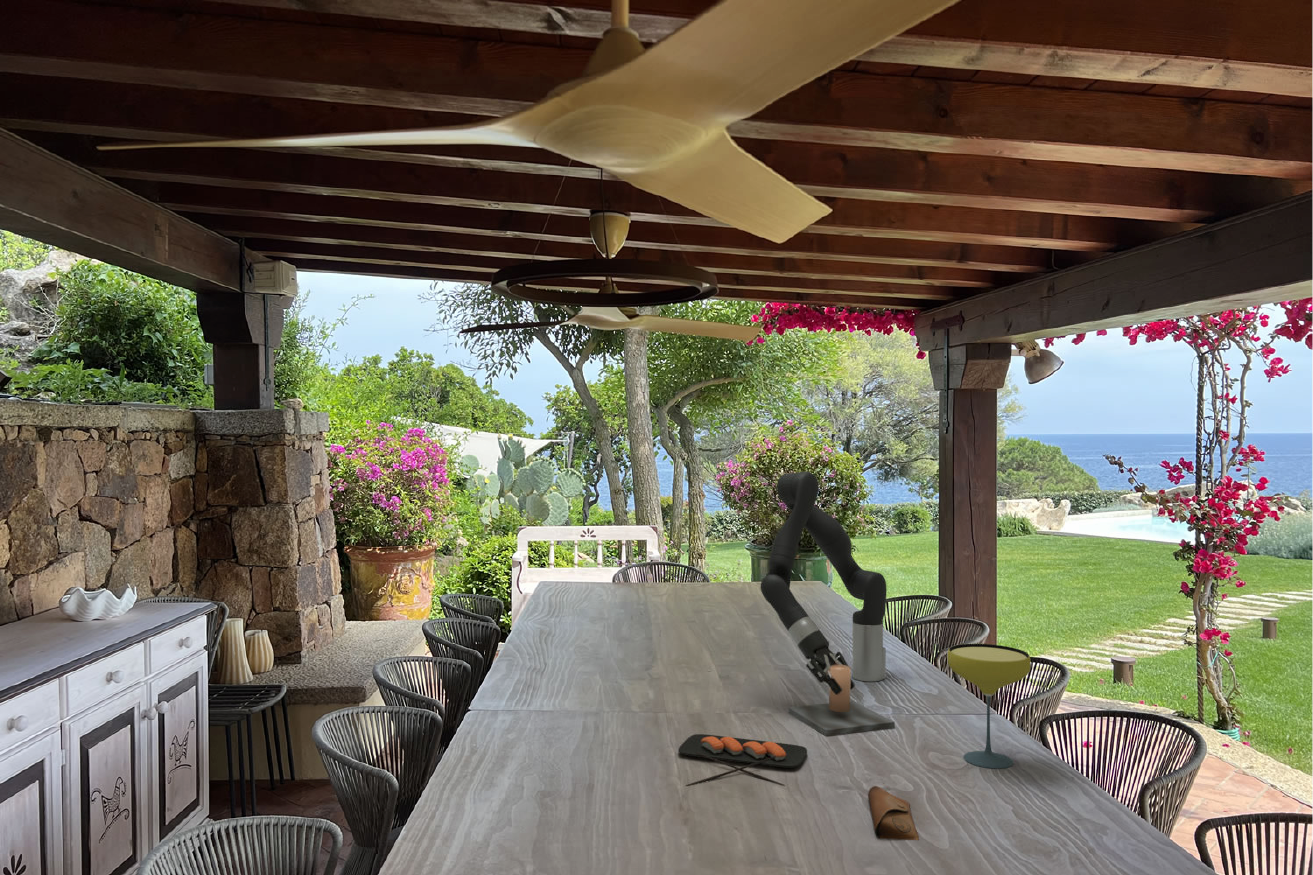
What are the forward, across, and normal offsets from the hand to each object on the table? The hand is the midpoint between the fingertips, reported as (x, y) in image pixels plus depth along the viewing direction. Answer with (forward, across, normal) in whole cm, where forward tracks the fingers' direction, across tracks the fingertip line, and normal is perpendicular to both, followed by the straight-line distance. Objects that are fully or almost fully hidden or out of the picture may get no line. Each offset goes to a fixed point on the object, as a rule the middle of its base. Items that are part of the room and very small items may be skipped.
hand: (845, 690), depth 235 cm
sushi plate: (+6, -45, +7) cm, 46 cm away
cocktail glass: (+33, -1, -22) cm, 40 cm away
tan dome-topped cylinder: (+2, 0, +5) cm, 6 cm away
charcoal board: (+5, 0, +7) cm, 8 cm away
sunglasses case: (+35, -46, -22) cm, 61 cm away
